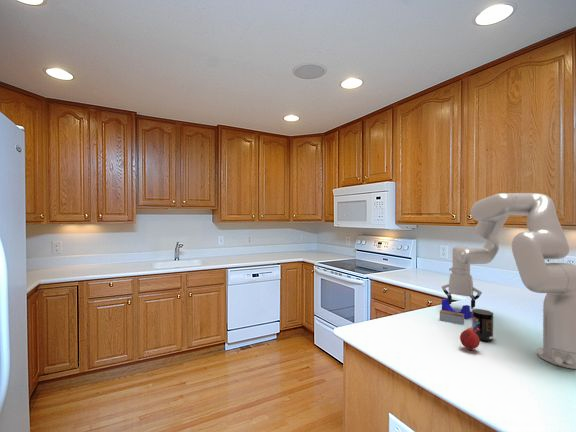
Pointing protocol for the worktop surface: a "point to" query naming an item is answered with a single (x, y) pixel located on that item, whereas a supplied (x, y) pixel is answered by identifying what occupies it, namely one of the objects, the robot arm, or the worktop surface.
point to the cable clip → (464, 311)
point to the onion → (469, 339)
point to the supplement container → (483, 324)
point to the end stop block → (452, 317)
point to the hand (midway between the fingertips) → (461, 305)
